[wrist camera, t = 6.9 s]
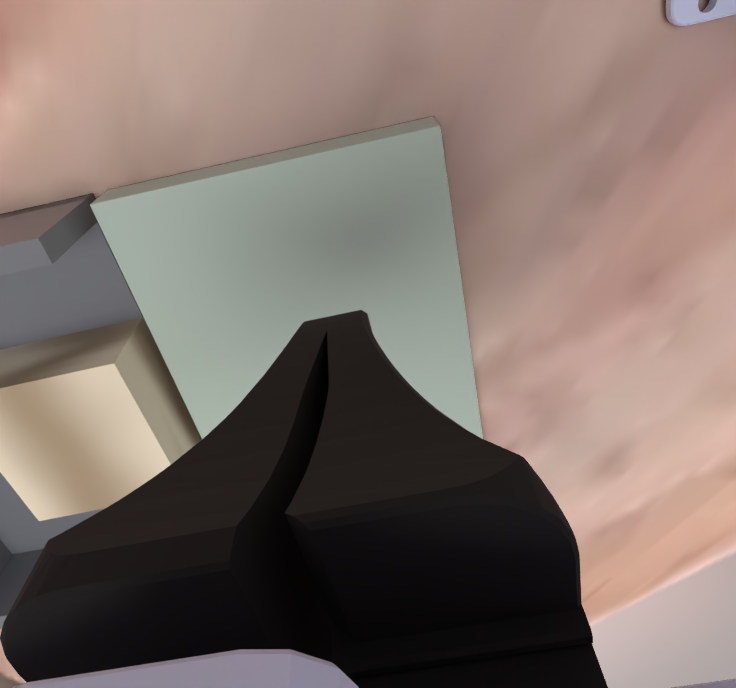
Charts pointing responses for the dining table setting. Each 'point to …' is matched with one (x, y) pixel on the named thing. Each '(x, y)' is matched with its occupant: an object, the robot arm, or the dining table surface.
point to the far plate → (299, 263)
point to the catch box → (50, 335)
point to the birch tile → (88, 418)
